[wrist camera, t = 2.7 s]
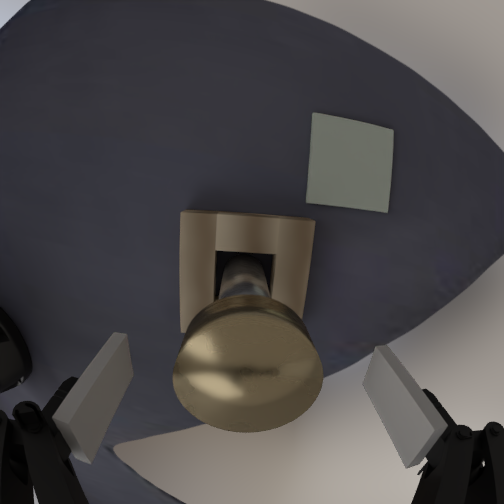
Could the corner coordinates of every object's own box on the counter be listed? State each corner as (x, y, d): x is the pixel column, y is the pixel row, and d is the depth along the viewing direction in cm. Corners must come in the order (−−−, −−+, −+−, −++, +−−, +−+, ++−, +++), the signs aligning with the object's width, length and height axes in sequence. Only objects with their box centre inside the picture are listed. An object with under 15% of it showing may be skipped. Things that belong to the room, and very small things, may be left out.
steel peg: (208, 302, 29) (178, 427, 12) (210, 236, 27) (167, 316, 11) (274, 305, 29) (307, 430, 13) (281, 240, 28) (337, 324, 11)
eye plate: (185, 321, 29) (180, 332, 27) (186, 209, 26) (180, 212, 24) (294, 326, 30) (298, 338, 28) (308, 218, 27) (315, 221, 25)
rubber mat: (305, 202, 27) (306, 202, 26) (312, 113, 25) (313, 112, 24) (385, 212, 27) (387, 212, 27) (390, 130, 25) (393, 130, 24)
